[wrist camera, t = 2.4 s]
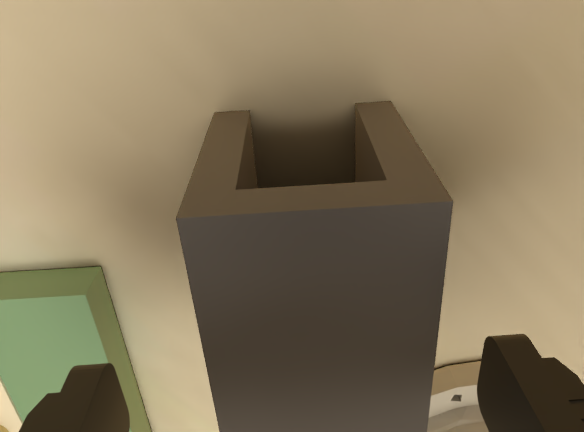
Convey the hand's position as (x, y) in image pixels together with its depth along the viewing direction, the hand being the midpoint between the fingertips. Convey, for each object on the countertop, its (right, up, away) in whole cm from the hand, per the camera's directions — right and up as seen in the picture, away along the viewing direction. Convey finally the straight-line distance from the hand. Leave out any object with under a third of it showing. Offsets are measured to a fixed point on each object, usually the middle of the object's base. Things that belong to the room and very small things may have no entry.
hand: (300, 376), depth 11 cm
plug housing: (0, +3, +5) cm, 6 cm away
